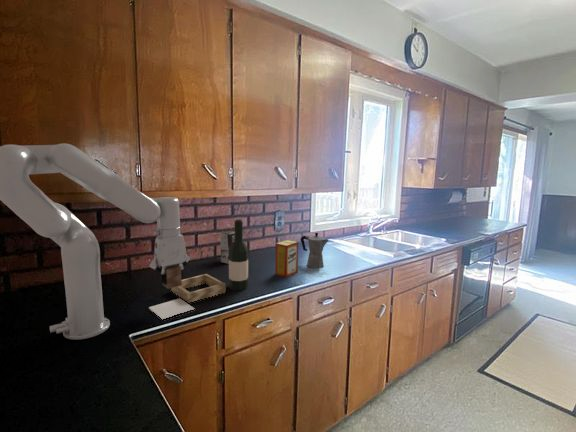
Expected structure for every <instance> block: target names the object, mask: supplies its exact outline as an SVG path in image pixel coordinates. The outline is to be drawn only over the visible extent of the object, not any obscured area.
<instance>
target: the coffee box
mask: <svg viewBox="0 0 576 432" xmlns="http://www.w3.org/2000/svg"><path fill="white" fill-rule="evenodd" d="M234 241H235V230H230V231H226V232H220V262H221V263H224V264H227V265H229V249H230V248H231V246H232V244H233V243H234Z"/></svg>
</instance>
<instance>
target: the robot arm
mask: <svg viewBox="0 0 576 432" xmlns="http://www.w3.org/2000/svg"><path fill="white" fill-rule="evenodd" d="M58 173H60V174H62V175H63V176H65V177H66V178H68V179H70V180H71V181H73V182H74V183H76V184H77V185H80V186H81V187H82V188H85V189H86V190H88V191H89V192H91V193H92V194H94V195H96V196H97V197H99V198H100V199H102V200H104V201H106V202H109V203H111V204H112V205H114V206H116V207H117V208H119V209H120V210H122V211H123V212H125V213H126V214H128V215H130V216H132V217H133V218H134V219H136V220H138V221H139V222H141V223H145V224H151V223H155V222H156V230H154V231H153V235H154V236H156V238H155V242H154V257H153V258H152V260H151V263H150V264H149V266H148V267H149V268H151V269H153V270H155V271H156V272H158V273H159V281H160V283H161V284H162V283H163V284H164V285H166V284H167V281H166V274H165V269H166V266H170V265H175V264H177V265H179V266H181V280H183V274H184V273H183V270H184V268H185V266H186V265H187V264H188V263H189V261H190V260H191V257H190V256H189V254H188V253H187V248H186V241H185V238H184V235H183V234H181V216H180V215H181V213H180V200H179V199H178V197H176V196H175V197H173V196H164V197H149V196H148V195H145V194H144V193H143V192H141V191H140V190H139V189H137V188H135V187H133V185H131V184H130V183H128V182H127V181H125V180H124V179H123V178H122V177H120V176H119V175H117V174H116V173H115V172H113V171H112V170H111V169H109V168H107V167H106V166H105V165H103V163H102V164H101V163H100V162H99V161H97V160H96V159H94V158H93V157H91V156H90V155H88V154H87V153H85V152H84V151H82V150H81V149H80V148H78V147H77V146H75V145H72V144H70V143H65V142H64V143H58V144H44V145H43V144H42V145H41V144H38V145H37V144H36V145H35V144H34V145H19V144H3V145H0V201H1V203H3V204H4V205H5V206H7V208H9V209H10V210H11V211H12V212H13V213H14V214H15V215H16V216H17V217H19V218H20V219H21V220H22V221H23V222H25V224H27V225H28V226H29V227H30V228H31V229H32V230H33V231H34V232H35V233H36V234H37V235H39V236H41V237H44V238H49V239H51V240H52V241H53V242H55V244H56V245H58V246H59V247H60V253H61V254H60V255H61V261H62V262H61V263H62V272H63V281H64V283H63V284H64V289H65V290H64V291H65V298H66V299H65V301H66V310H67V312H66V314H67V317H65V320H64V321H61V322H60V323H57V324H53V325H50V326H49V331H50V333H54V332H55V333H56V334H61V333H62V335H63V337H64V338H66V339H68V340H76V341H78V340H84V339H85V340H86V339H89V338H93V337H96V336H99V335H100V334H103V333H104V332H106V331H107V330H108V329H109V328H110V326H111V321H110V319H109V318H107V317H105V314H104V301H103V289H102V277H101V276H102V275H101V251H100V250H101V249H100V245H99V241H98V240H97V237H96V236H95V234H94V232H93V231H92V230H91V229H90V228H89V227H87V226H86V225H85V223H83V222H82V221H81V220H80V219H79V218H78V217H77V216H75V214H74V213H73V212H72V211H70V210H69V209H68V208H67V207H66V206H64V205H62V204H60V203H58V202H54V201H53V200H52V199H50V198H49V196H48V195H46V194H45V193H44V192H43V191H42V190H41V189H40V188H39V187H38V185H37V186H36V184H35V183H33V182H32V180H31V179H30V175H42V174H43V175H44V174H58ZM157 265H158V266H157Z"/></svg>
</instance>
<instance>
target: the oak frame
mask: <svg viewBox="0 0 576 432" xmlns="http://www.w3.org/2000/svg"><path fill="white" fill-rule="evenodd" d="M181 282H182V285H180V286H177V287H173V288H170V292H171V291H172V292H173V293H172V292H171V293H172V294H174V293H175V294H176V295H175V294H174V295H175V296H177V295H178V296H179V297H178V296H177V297H178V298H180V297H181V298H182V299H184V300H185V301H187V302H188V303H190V302H194V301H197V300H200V299H203V300H205V299H204V298H207V299H209V298H208V297H210V298H212V296H213V297H216V296H219V295H218V294H220V295H222V293H223V294H226V293H225V292H226V283H225V282H224V281H221V280H220V279H218V278H216V277H213V276H212V275H210V274H208V273H204V274H199V275H197V276H196V275H195V276H192V277H188V278H184V279H183V278H182V280H181ZM205 283H206V285H207V287H204V288H201V289H196V290H193V291H189V290H187V289H186V288H188V289H191V288H195V287H199V286H202V285H205ZM201 284H202V285H201ZM198 285H199V286H198ZM194 286H195V287H194ZM190 287H191V288H190ZM215 295H216V296H215ZM181 298H180V299H181ZM184 300H183V301H184ZM200 301H201V300H200ZM187 302H186V303H187ZM197 302H198V301H197ZM188 303H187V304H188ZM194 303H195V302H194ZM190 304H191V303H190Z"/></svg>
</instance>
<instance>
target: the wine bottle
mask: <svg viewBox="0 0 576 432" xmlns="http://www.w3.org/2000/svg"><path fill="white" fill-rule="evenodd" d="M243 225H244V223H243V220H242V219H241V218H236V219H235V221H234V231H235V241H234V243H233V244H232V246H231V248H230V249H229V264H228V288H229V289H230V288H231V289H230V290H231V291H239V290H240V291H244V290H247V289H248V287H249V248H248V247H247V245H246V243H245V242H244V241H243V239H244V238H243V234H244V232H243V231H244V228H243ZM246 288H247V289H246ZM243 289H244V290H243Z"/></svg>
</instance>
